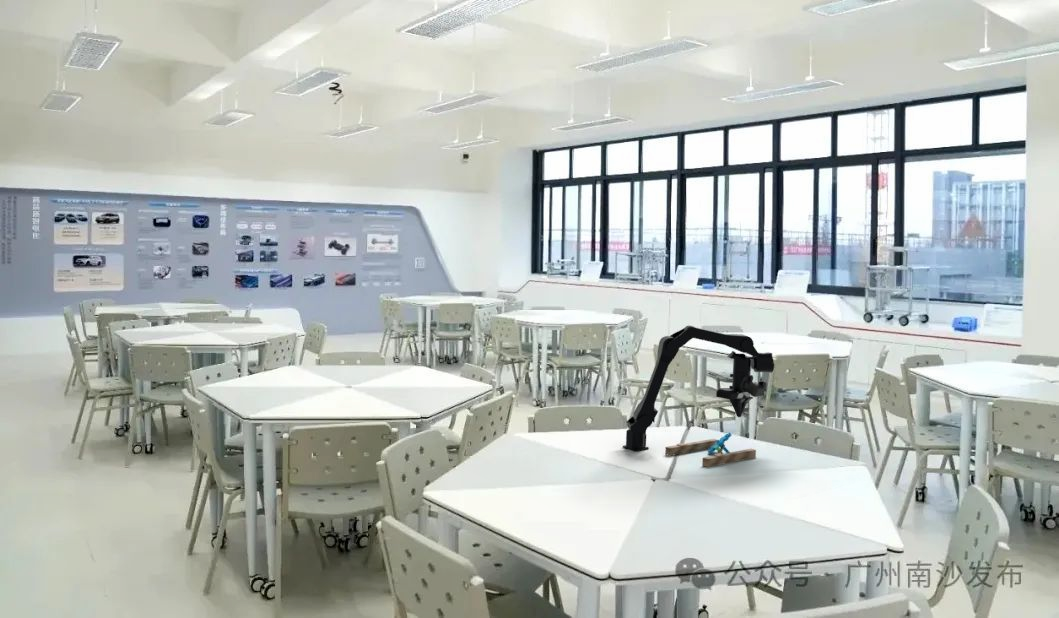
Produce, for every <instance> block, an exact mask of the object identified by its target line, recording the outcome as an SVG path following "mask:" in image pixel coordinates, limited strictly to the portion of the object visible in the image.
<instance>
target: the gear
mask: <svg viewBox="0 0 1059 618" xmlns="http://www.w3.org/2000/svg"><path fill="white" fill-rule="evenodd" d="M731 437H732V433H731V432H728V433H726V434H724V435H723V436H721V438H720V439H717V440H718V441H717V442H716V443H715V445H714V446H712V447H711V448H709V449H707V453H708V454H709V455H710V454H713V453H715V451H716V452H717V454H720V453H721V454H725V453H730V451H729V449H728V448H727V447H726V444H725V442H727V441H728V440H729V439H730V438H731ZM723 451H724V452H725V453H724V452H723Z"/></svg>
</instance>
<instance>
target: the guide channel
mask: <svg viewBox="0 0 1059 618" xmlns="http://www.w3.org/2000/svg"><path fill="white" fill-rule="evenodd" d="M718 440H719V439H716V438H710V439H705V440H704V439H703V440H699V441H698V440H697V441H692V442H687V443H684V442H681V443H677V444H676V445H670V446H665V455H666V454H668V455H667V456H669V455H671V456H674V455H673V454H677V455H681V454H680V453H682V454H687V453H693V452H697V451H704V450H709V449H711V447H712V446H714V445H715V443H716V442H717V441H718ZM708 448H709V449H708ZM703 449H704V450H703ZM692 451H693V452H692ZM686 452H687V453H686ZM729 452H730V451H729ZM756 456H757V449H755V448H746V449H742V450H741V449H740V450H737V451H731V452H730V453H726V452H725V453H724V454H721V453H715V454H713V455H710V456H706V457H702V461H701V462H702V464H701V465H703V467H705V466H706V467H705V468H708V466H710V467H714V465H715V466H718V464H720V465H723V463H725V464H729V462H730V463H734V462H737V461H738V460H739V461H743V459H744V460H749V459H754V458H756ZM753 457H754V458H753ZM748 458H749V459H748ZM733 461H734V462H733ZM739 461H738V462H739Z"/></svg>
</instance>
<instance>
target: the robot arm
mask: <svg viewBox="0 0 1059 618" xmlns="http://www.w3.org/2000/svg"><path fill="white" fill-rule="evenodd" d="M692 339H696V340H700V341H706V342H710V343H713V344H719V345H722V346H723V345H724V346H726V347H729V348H731V349H733V350H732V351H731V353H729V354H728V355H727V358H729V359H731V360H732V359H733V363H732V364H733V365H732V373H729V377H730V378H732V379H731V380H732V382H731V384H732V385H729V388H728V387H727V388H726V387H722V388H718V389H717V390H716V394H715V397H716V398H721V399H725V400H729V401H730V403H731V405H732V407H733V408H732V409H733V411H734V412H735V414H736V416H737V418H741V417H742V416H743V413H744V410H745V408H746V406H747V404H748V403H749V401H751V400H752V399H753V400H754V398H757V397H762V396H765V392H767V386H768V385H767V382H766V381H764V380H761V381H755V380H754V376H753V375H751V370H753V372H754V373H773V372H774V369H775V363H774V357H773V353H772V352H769V351H768V352H767V351H766V352H758V350H757V349H756V346H754V344H755V343H754V340H753V338H751V336H747V335H746V334H741V333H739V334H738V333H722V332H717V331H714V330H710V329H709V330H708V329H705V328H701V327H700V328H699V327H696V326H694V325H686V326H685V327H683V328H682V329H680V330H677V331H676V332H674V333H672V334H671V335H664V336H663V337H661V338H660V340H659V342H658V345H657V346H658V347H657V354H656V357H657V358H656V362H655V364H654V368H653V370H652V373H651V375H650V379H649V382H648V384H647V387H646V389H645V392H644V395H643V397H642V399H641V400H640V401H639V403H638V404H637V405H636V407H635V410H634V411H633V413H632V416H631V417H630V418H629V419H627V421H625V424H626V427H627V430H626V435H625V445H622V448H624V449H627V450H630V451H634V452H637V451H638V452H639V451H644V450H649V447H648V446H646V445H647V429H648V428H649V427H651V426H652V424H653V423H655V419H656V416H657V414H658V413H659V410H658V409H656V407H655V404H656V400H657V398H658V396H659V393H660V390H661V387H662V385H663V382H664V380H665V376H666V374H667V371H668V369H669V365H670V364H671V363H672V362H673V361H674V359H675V357H677V354H678V352H679V351H680V348H682V347H683V346H684V345H686V344H687V343H688V342H690V341H691V340H692ZM735 351H738V352H741V353H736V352H735ZM746 354H748V355H749V356H746Z"/></svg>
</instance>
